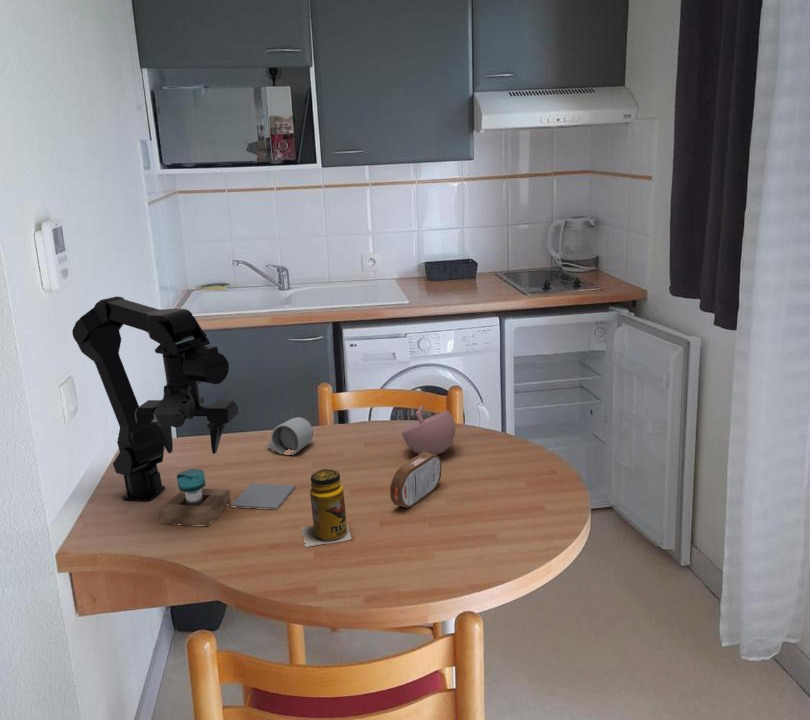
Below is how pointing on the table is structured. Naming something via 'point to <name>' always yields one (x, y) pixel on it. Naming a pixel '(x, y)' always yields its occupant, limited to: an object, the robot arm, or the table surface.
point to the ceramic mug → (291, 435)
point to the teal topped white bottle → (192, 485)
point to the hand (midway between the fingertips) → (192, 452)
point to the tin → (415, 479)
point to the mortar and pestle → (430, 433)
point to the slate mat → (263, 496)
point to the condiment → (326, 510)
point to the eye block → (194, 508)
